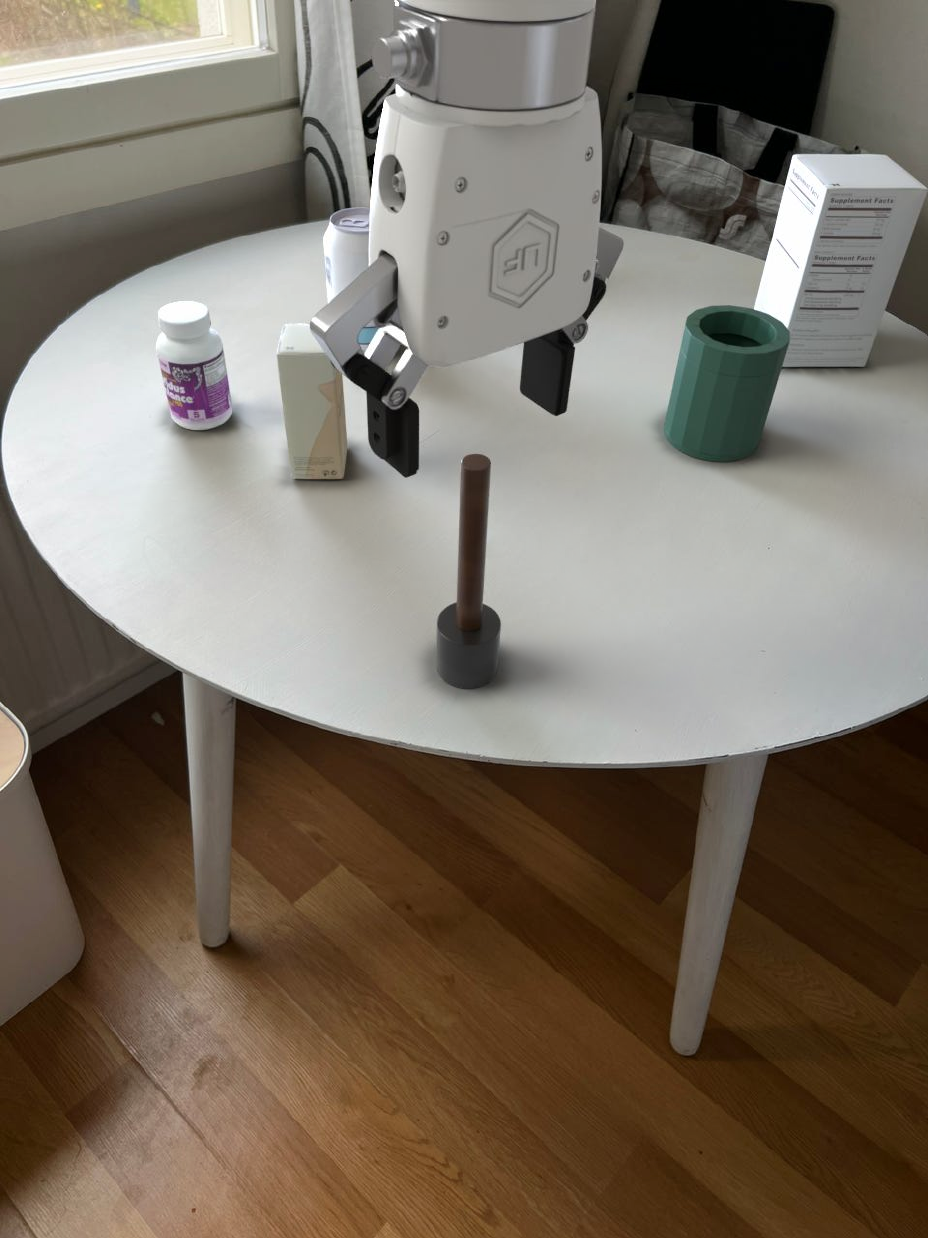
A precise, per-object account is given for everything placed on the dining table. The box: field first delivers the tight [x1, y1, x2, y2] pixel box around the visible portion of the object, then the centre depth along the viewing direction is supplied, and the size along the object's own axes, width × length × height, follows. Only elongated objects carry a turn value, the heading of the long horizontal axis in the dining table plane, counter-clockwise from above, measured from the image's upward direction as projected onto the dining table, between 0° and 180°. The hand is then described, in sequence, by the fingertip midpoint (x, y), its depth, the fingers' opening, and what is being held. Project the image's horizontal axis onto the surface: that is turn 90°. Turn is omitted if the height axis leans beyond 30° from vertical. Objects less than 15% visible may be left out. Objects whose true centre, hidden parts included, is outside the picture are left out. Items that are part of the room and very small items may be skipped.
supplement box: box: [753, 153, 928, 368], centre depth 87 cm, size 10×9×17 cm
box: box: [276, 323, 348, 480], centre depth 72 cm, size 5×4×11 cm
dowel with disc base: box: [435, 453, 502, 690], centre depth 54 cm, size 4×4×16 cm
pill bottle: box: [155, 300, 234, 431], centre depth 77 cm, size 5×5×10 cm
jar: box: [663, 304, 790, 463], centre depth 77 cm, size 8×8×10 cm
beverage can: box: [322, 206, 378, 353], centre depth 86 cm, size 7×7×12 cm
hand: (471, 431), depth 48 cm, fingers open, 9 cm apart
